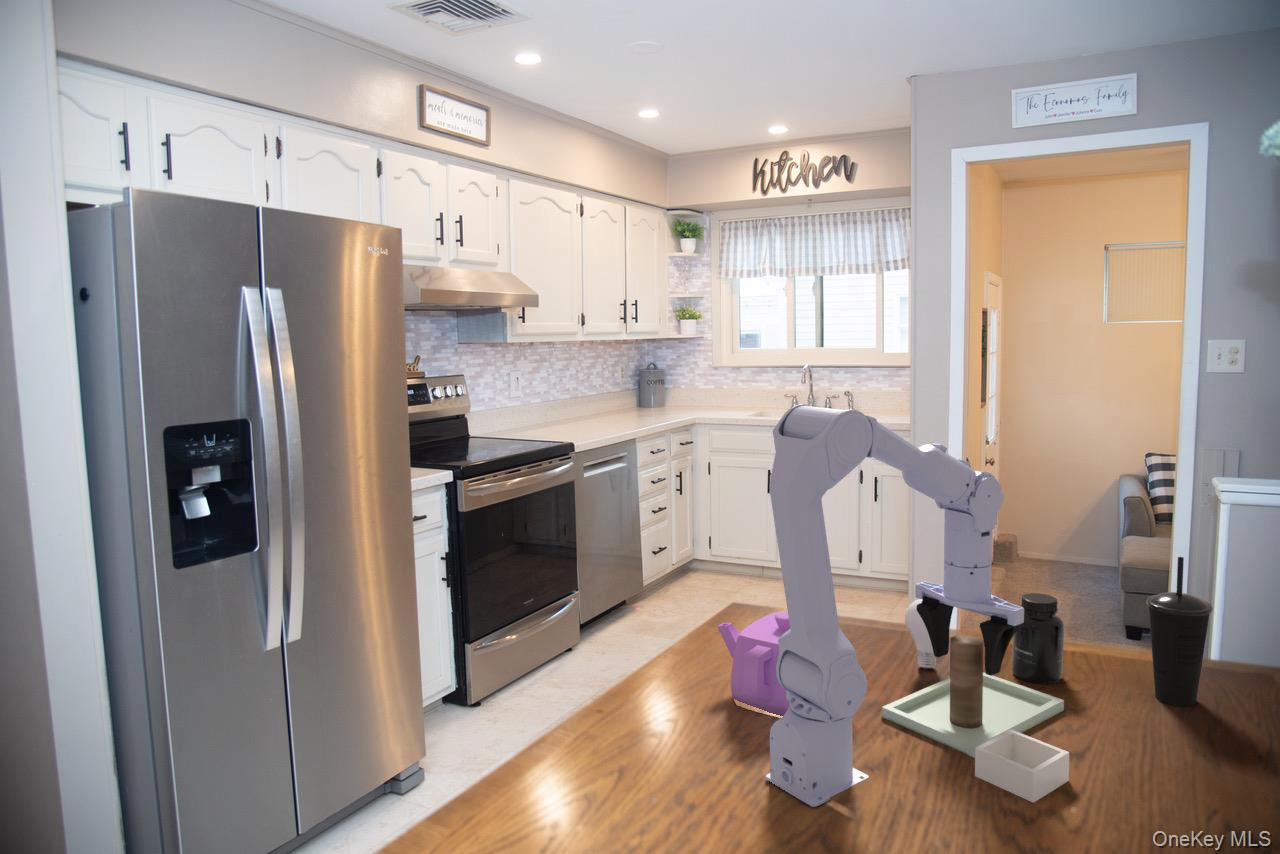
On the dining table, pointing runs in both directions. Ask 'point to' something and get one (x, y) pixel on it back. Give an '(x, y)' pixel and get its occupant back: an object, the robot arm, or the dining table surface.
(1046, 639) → the supplement bottle
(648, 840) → the dining table surface
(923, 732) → the tray
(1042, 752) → the square cup
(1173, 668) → the drinking cup
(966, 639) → the walnut dowel
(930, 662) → the lightbulb
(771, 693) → the teakettle
